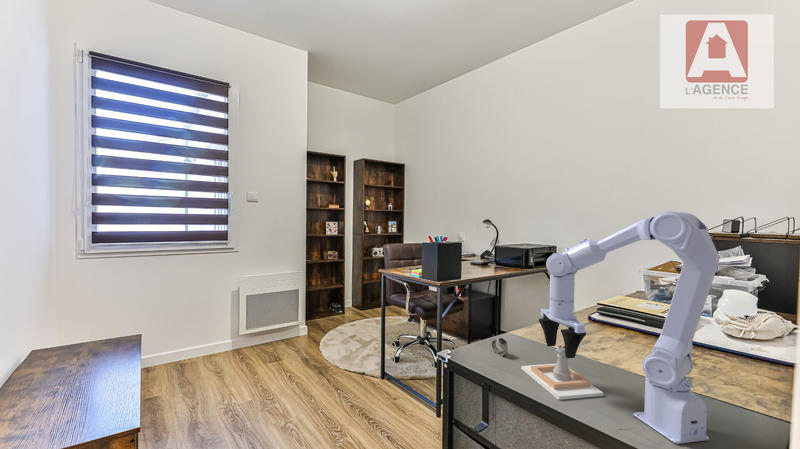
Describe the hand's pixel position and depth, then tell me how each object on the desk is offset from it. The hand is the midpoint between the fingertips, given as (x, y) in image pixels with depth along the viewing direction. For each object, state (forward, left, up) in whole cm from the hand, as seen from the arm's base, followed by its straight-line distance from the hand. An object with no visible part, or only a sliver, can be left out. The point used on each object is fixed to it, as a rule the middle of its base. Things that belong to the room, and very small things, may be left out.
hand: (560, 351), depth 86 cm
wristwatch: (+19, +7, -8) cm, 22 cm away
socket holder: (0, 0, -8) cm, 8 cm away
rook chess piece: (0, -1, -7) cm, 7 cm away
